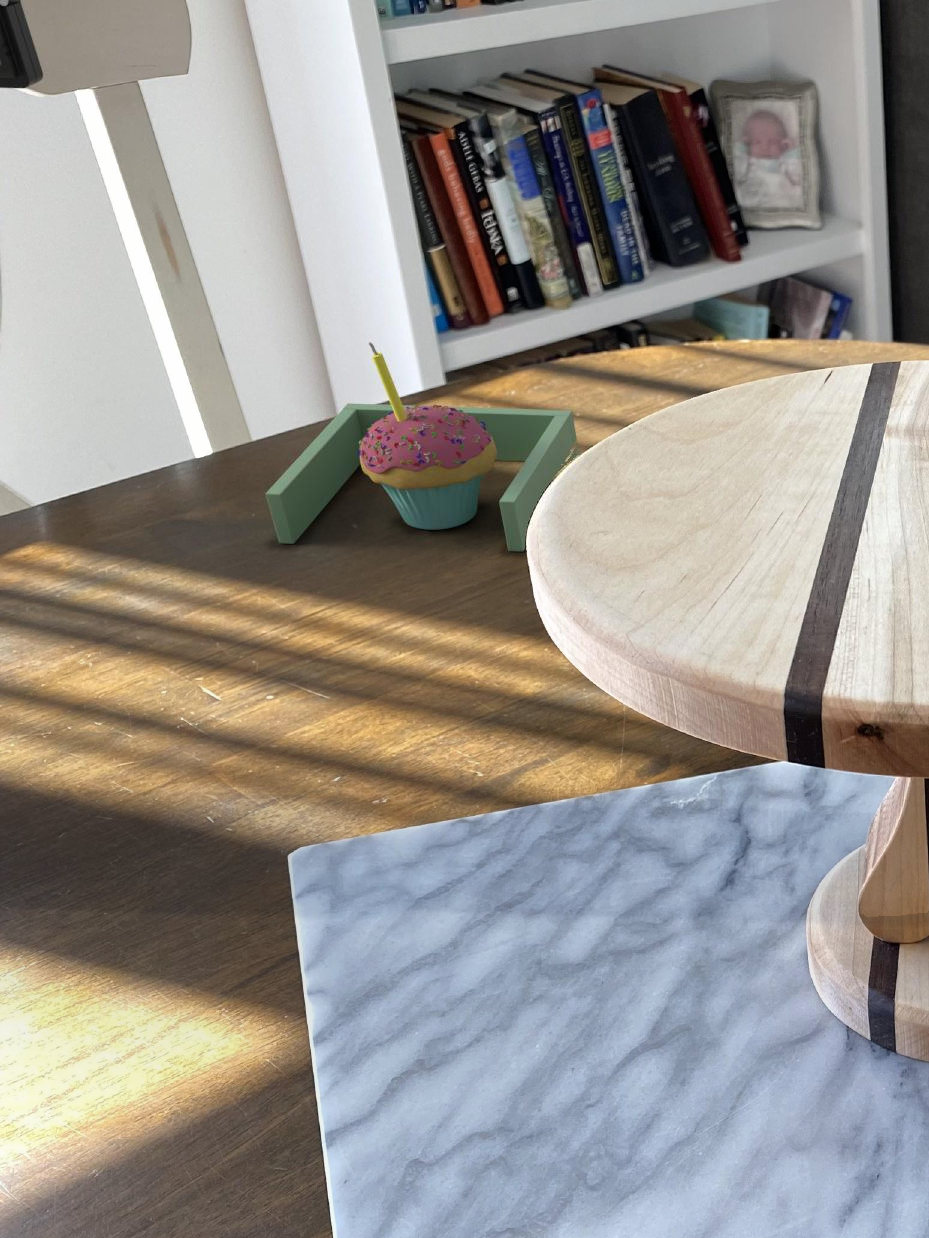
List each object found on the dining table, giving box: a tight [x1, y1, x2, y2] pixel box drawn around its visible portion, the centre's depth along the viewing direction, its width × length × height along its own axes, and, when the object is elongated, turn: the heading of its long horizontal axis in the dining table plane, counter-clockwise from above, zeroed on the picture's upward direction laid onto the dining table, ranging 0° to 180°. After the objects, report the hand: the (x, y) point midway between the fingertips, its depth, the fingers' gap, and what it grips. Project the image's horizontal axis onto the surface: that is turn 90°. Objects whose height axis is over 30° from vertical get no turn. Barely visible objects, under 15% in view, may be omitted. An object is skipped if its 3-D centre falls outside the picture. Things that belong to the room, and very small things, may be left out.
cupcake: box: [358, 341, 497, 531], centre depth 110 cm, size 9×8×12 cm
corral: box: [265, 402, 580, 553], centre depth 114 cm, size 15×16×4 cm
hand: (17, 84), depth 86 cm, fingers closed
